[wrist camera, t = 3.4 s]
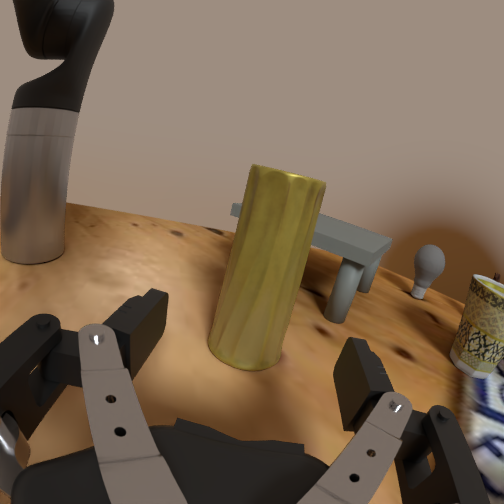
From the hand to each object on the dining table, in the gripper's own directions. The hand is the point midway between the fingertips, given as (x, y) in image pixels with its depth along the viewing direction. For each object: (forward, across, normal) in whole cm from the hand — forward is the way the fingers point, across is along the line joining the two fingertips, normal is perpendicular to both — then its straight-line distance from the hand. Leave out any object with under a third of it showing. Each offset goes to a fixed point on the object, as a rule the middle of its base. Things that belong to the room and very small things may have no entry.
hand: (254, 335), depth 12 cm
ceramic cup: (+12, -29, +8) cm, 33 cm away
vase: (+9, 0, +8) cm, 12 cm away
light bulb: (+33, -29, +8) cm, 45 cm away
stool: (+28, -7, +8) cm, 30 cm away
